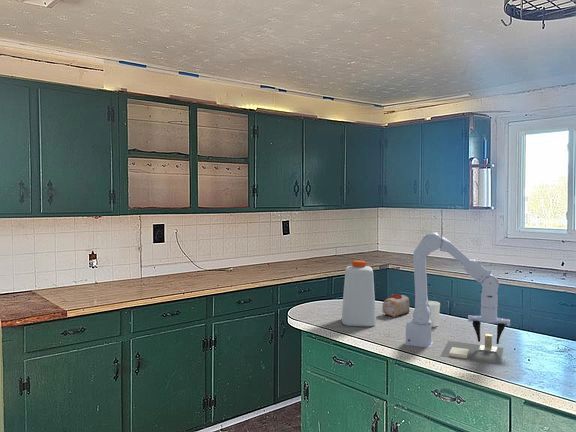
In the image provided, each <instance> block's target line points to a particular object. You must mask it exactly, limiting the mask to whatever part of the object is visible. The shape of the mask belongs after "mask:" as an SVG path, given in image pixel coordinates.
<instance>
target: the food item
mask: <svg viewBox="0 0 576 432" xmlns="http://www.w3.org/2000/svg"><path fill="white" fill-rule="evenodd" d="M381 311H382V312H383V314H385V315H386V316H388V315H389V317H391V316H392V318H396V317H398V316H402V315H406V314H409V313H410V298H409V296H406V295H404V294H401V295H400V294H399V293H397V294H395V293H394V294H393V293H391V297H389V298H386V299H385V300H384V301H383V302H382V310H381Z"/></svg>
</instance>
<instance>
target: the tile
mask: <svg viewBox="0 0 576 432" xmlns="http://www.w3.org/2000/svg"><path fill="white" fill-rule="evenodd" d="M468 354H469V349H463V348H456V347H452V348H451V350H450V352H449V356H451V357H458V358H465V359H467V357H468Z"/></svg>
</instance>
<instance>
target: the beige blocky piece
mask: <svg viewBox="0 0 576 432" xmlns="http://www.w3.org/2000/svg"><path fill="white" fill-rule="evenodd" d="M479 345H480V348H479V351H483V352H491V353H497V347H498V346H493V334H490V333H485V334H484V344H479Z"/></svg>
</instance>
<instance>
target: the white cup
mask: <svg viewBox="0 0 576 432" xmlns="http://www.w3.org/2000/svg"><path fill="white" fill-rule="evenodd" d="M428 304H429V306H430V308H431V314H430V318H429V319H430V320H431V328H436V327H438V326H439V321H440V311H441V309H440V307H441V303H440V301H436V300H435V301H434V300H428Z"/></svg>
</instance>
